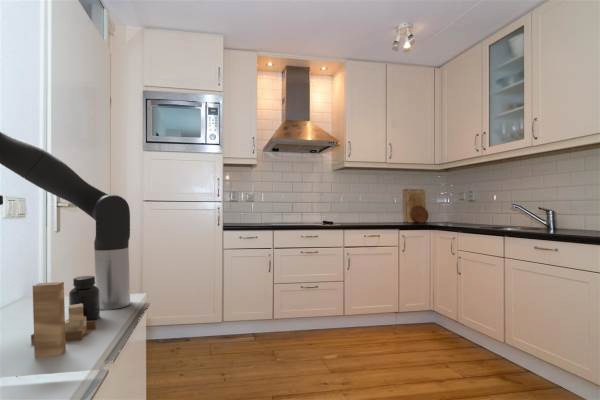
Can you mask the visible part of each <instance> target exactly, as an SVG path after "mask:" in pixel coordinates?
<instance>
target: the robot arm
mask: <svg viewBox="0 0 600 400" xmlns="http://www.w3.org/2000/svg"><path fill="white" fill-rule="evenodd" d="M0 164H1V166H4V167H5V168H6V169H8V170H10V171H12V172H14V174H17V175H18V176H20V177H21V178H22V179H25V180H26V181H28V182H29V183H31V184H33V185H35V186H36V187H38V188H40V189H41V190H44V191H46V192H48V193H50V194H52V195H54V196H55V197H58V198H61V199H62V200H65V201H67V202H69V203H71V204H72V205H74V206H75V207H77V208H79V210H81V211H82V212H84V213H86V214H87V215H88V216H89V217H91V218H92V219H93V220H94V221H95V239H94V241H93V242H94V243H93V245H94V246H93V247H94V273H95V274H94V275H95V276H94V277H95V284H94V286H96V287H98V289H99V297H100V311H102V310H103V311H105V310H106V311H109V310H118V309H120V308H125V307H127V306H130V305H131V290H130V289H131V287H130V285H131V281H130V280H131V279H130V257H129V256H130V255H129V254H130V253H129V243H130V242H129V241H130V238H131V212H130V211H131V210H130V206H129V203H128V202H127V200H126V199H125V198H123V197H122V196H120V195H116V194H108V193H106V192H104V191H102V190H101V189H99V188H96V187H95V186H93V185H91V184H89V183H88V182H87V181H85V180H84V179H83V178H82V177H81V175H78V173H76V171H74V170H73V169H72V168H71V167H70V166H69V165H67V164H66V163H65V162H64V161H62V160H61V159H59V158H58V157H56V156H55V155H53V154H51V153H50V152H49V151H47V150H45V149H44V148H41V147H40V146H38V145H35V144H32V143H30V142H28V141H25V140H22V139H19V138H16V137H13V136H11V135H8V134H6V133H4V132H2V131H1V130H0ZM3 204H4V197H3V195H2V194H0V206H3Z"/></svg>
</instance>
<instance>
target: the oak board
mask: <svg viewBox="0 0 600 400" xmlns="http://www.w3.org/2000/svg"><path fill="white" fill-rule="evenodd" d="M65 308H66V306H65V282H64V281H56V282H55V281H54V282H39V283H37V284H34V285H32V310H33V314H32V315H33V316H32V318H33V334H34V344H33V348H34V349H33V350H34V358H35V359H36V358H48V357H60V356H61V355H62V354H64V353H65V352H66V351H67V349H66V348H67V346H66V344H67V343H66V342H67V341H65V321H66V313H65Z"/></svg>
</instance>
